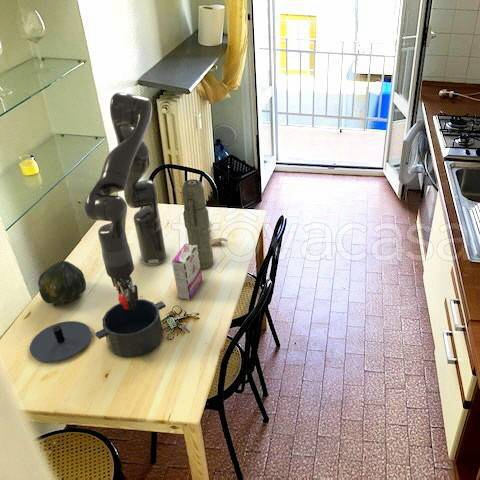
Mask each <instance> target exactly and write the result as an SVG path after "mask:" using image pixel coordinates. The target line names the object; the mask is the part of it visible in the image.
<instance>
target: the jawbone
mask: <svg viewBox="0 0 480 480" xmlns="http://www.w3.org/2000/svg"><path fill="white" fill-rule="evenodd" d="M208 227H209V237H210V245H211V246H212V245H219V246H222V242H225V243H226V242H228V241H229V240H228V239H227V238H225V237H219V238H218V237H217V238H212V235H211V229H210V227H211V221H209V226H208Z"/></svg>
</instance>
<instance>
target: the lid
mask: <svg viewBox="0 0 480 480" xmlns="http://www.w3.org/2000/svg"><path fill="white" fill-rule="evenodd" d="M91 339H92V331H91V328H90V327H89V326H88V325H87V324H85V323H84V322H80V321H76V320H75V321H74V320H68V321H62V322H58V323H54V324H52V325H50V326H48V327H46V328H44V329H42V330H41V331H39V332H38V333H37V334H36V335H35V336H33V339H32V340H31V342H30V345H29V352H30V355H31V357H32V358H33V359H35V360H37V361H39V362H42V363H57V362H59V363H60V362H63V361H66V360H69V359H71V358H73V357H75V356H77V355H78V354H79V353H81V352H83V351H84V350H85V349H86V348H87V347H88V345H89V344H90V342H91Z"/></svg>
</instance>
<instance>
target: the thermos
mask: <svg viewBox="0 0 480 480" xmlns="http://www.w3.org/2000/svg"><path fill="white" fill-rule="evenodd" d="M181 195H182V201H183V209H184V210H183V213H182V215H183V222H184V227H185V229H186V235H187V241H188V244H192V245H197V247H198V253H199V260H200V268H201V271H205V270H208V269H210V268H212V266H213V265H214V253H213V252H214V251H213V248H212V245H210V237H209V229H210V227H208V226H209V222H210V217H209V210H208V208H207V205H206V195H205V187H204V186H203V184H202V182H201V181H200V180H198V179H193V178H192V179H191V178H190V179H188V180H185V181H184V182H183V184H182V189H181Z"/></svg>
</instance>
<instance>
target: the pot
mask: <svg viewBox="0 0 480 480" xmlns="http://www.w3.org/2000/svg"><path fill="white" fill-rule="evenodd" d="M135 302H136V306H137V307H136V308H135V309H133V310H130V309H124V307H123V306H122V305H121V304H120V303H119V302H118V303H117V304H115V305H113V306H112V307H110V309H108V310H107V311H106V312H105V314H104V316H103V317H102V319H101V322H102V329H100V330H98V331H96V332H94V334H95V336H96V337H97V339H98V340H102V339H103V338H106V339H105V341H106V343H107V347H108V349H109V351H110V352H111V353H112V354H113V355H115V356H117V357H119V358H123V359H134V358H140V357H143V356H146V355H148V354H150V353H151V352H153V351H155V350H156V349H157V348H158V347H159V346H160V345H161V344H162V342H163V339H164V330H163V326H162V320H161V314H160V310H162V309H164V308H166V307H167V305H166V304H165V302H163V301H162V300H160V301H159V302H156V303H155V302H153V301H150V300H148V299H145V298H144V299H142V298H138V299H137V300H136V301H135Z"/></svg>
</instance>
